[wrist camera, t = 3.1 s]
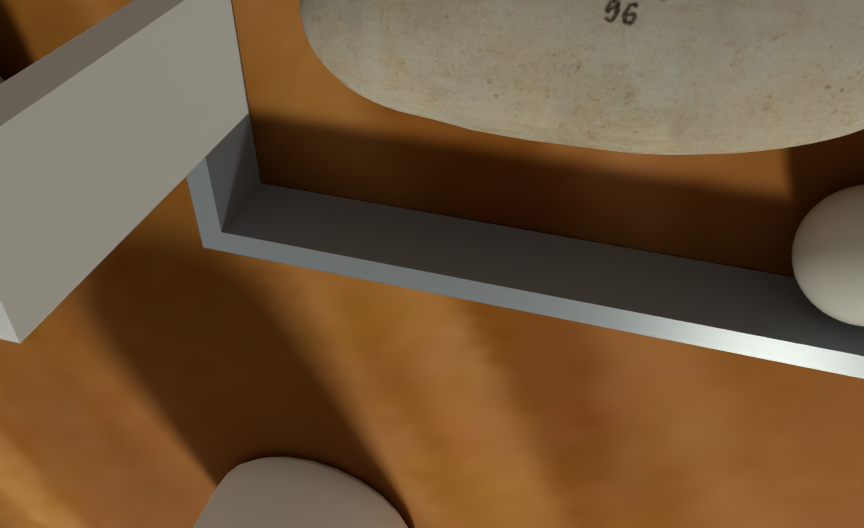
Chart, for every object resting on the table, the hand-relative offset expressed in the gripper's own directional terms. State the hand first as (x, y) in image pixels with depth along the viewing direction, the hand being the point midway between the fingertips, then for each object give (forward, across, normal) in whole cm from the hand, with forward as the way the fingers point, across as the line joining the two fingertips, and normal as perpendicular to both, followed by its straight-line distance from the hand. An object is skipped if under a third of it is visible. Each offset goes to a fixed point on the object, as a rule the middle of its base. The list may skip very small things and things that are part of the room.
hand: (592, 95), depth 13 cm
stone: (+6, 0, 0) cm, 6 cm away
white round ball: (+6, +6, -5) cm, 10 cm away
